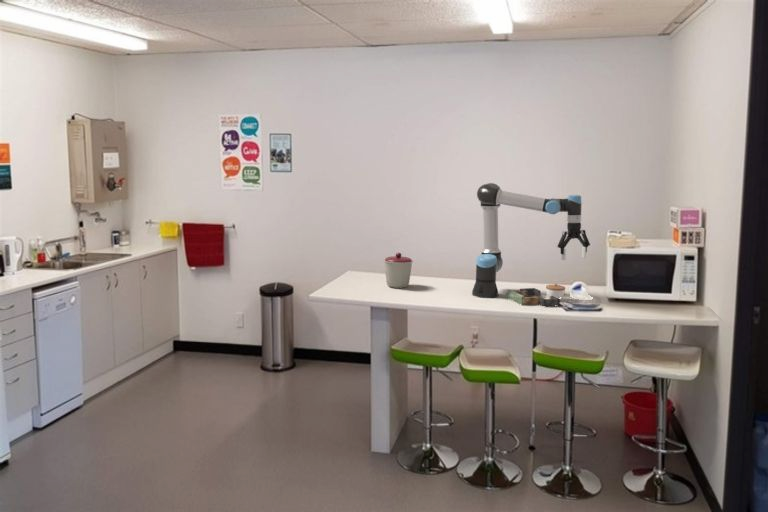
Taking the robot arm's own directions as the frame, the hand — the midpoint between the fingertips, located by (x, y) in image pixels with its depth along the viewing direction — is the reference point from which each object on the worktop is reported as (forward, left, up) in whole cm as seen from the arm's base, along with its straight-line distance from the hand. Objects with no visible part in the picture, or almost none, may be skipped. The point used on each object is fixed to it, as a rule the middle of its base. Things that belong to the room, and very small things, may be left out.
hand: (573, 259), depth 387 cm
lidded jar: (-11, -1, -24) cm, 26 cm away
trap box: (-26, -1, -23) cm, 35 cm away
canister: (-90, +50, -24) cm, 106 cm away
